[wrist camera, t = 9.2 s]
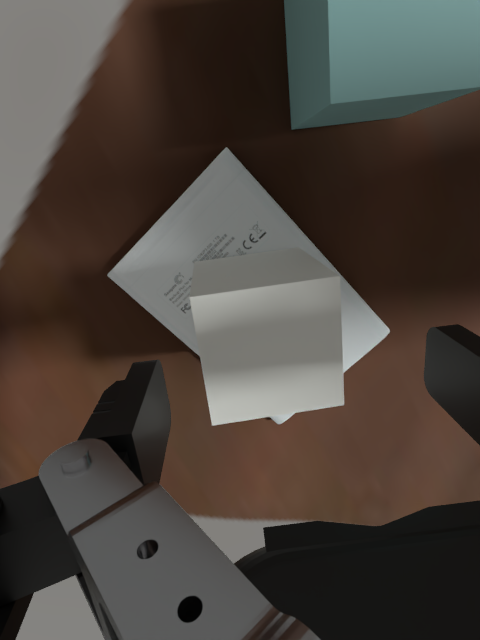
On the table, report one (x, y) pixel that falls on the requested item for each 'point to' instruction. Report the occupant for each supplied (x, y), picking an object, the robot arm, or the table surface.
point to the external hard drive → (226, 254)
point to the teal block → (378, 57)
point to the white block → (268, 334)
